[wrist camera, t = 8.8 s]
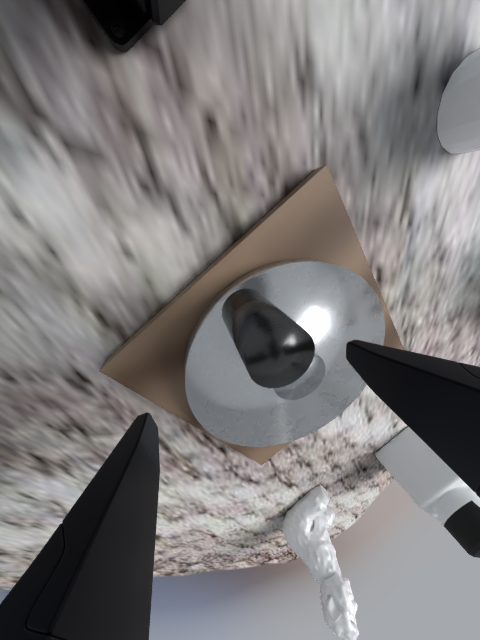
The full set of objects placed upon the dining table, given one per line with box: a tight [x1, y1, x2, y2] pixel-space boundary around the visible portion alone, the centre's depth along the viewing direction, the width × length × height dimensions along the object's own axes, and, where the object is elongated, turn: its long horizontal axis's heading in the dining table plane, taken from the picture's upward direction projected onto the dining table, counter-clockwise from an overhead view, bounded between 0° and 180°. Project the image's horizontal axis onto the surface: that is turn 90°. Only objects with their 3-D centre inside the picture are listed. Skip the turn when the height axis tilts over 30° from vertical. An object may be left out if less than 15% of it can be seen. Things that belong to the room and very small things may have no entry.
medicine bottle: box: [375, 427, 480, 558], centre depth 28 cm, size 7×7×12 cm
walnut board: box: [100, 165, 404, 465], centre depth 19 cm, size 20×20×1 cm
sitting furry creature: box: [283, 485, 359, 640], centre depth 28 cm, size 10×9×12 cm
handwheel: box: [185, 259, 385, 447], centre depth 15 cm, size 17×17×7 cm
